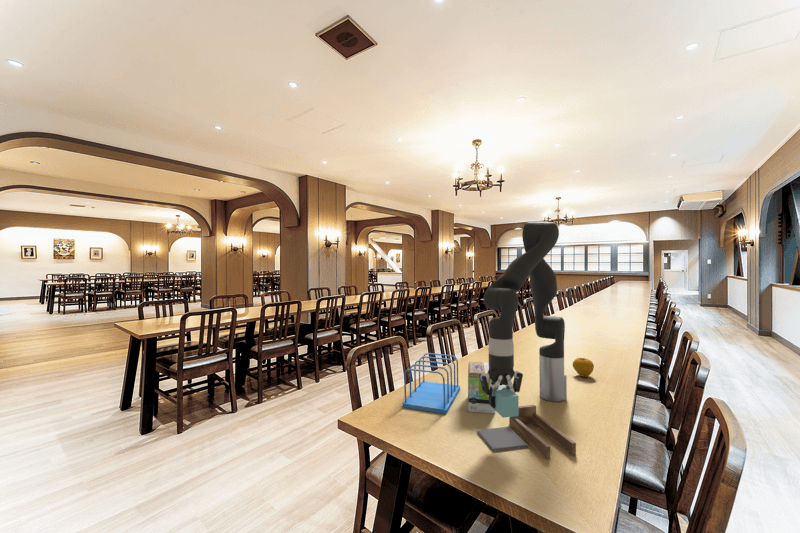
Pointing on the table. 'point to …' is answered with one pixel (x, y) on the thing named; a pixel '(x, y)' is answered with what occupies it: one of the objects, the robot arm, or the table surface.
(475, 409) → the tea box
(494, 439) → the felt mat
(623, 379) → the table surface
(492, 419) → the table surface
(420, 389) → the file sorter
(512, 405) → the teal blank
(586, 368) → the apple
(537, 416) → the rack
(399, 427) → the table surface
